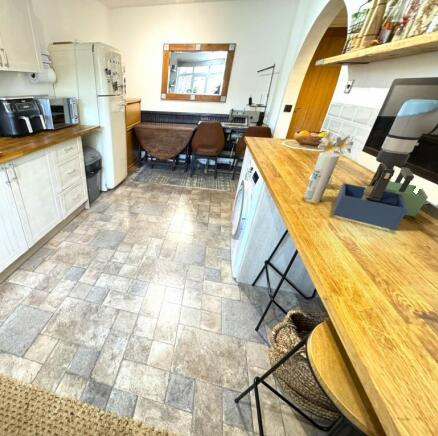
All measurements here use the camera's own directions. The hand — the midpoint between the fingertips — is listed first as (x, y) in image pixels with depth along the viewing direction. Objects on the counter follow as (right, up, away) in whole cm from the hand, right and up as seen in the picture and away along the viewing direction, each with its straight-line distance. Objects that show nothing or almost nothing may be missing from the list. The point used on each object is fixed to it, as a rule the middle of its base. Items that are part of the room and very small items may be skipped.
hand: (363, 211), depth 91 cm
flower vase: (+1, +13, +26) cm, 29 cm away
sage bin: (+17, +2, +8) cm, 18 cm away
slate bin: (0, -2, +1) cm, 2 cm away
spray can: (-11, +5, +13) cm, 18 cm away
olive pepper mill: (0, -1, +1) cm, 1 cm away
